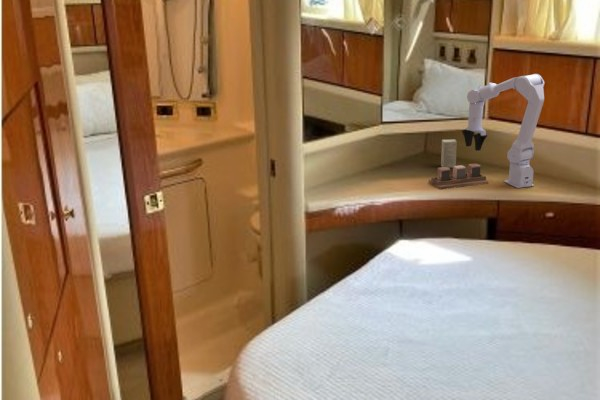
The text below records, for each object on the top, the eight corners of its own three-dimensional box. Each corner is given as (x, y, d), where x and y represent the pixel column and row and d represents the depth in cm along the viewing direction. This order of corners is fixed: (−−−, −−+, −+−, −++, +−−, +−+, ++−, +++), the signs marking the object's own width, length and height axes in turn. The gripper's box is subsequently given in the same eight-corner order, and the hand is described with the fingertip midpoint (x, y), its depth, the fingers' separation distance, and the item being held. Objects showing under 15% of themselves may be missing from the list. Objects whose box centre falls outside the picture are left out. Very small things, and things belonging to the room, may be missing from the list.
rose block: (465, 181, 242) (466, 167, 240) (456, 182, 241) (457, 168, 239) (461, 178, 245) (461, 165, 243) (452, 179, 244) (453, 166, 242)
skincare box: (454, 165, 268) (455, 139, 264) (455, 167, 264) (457, 141, 260) (440, 165, 269) (441, 139, 265) (441, 167, 265) (443, 141, 260)
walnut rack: (488, 183, 242) (489, 167, 239) (440, 189, 236) (441, 172, 234) (475, 176, 251) (476, 161, 248) (428, 182, 245) (429, 166, 243)
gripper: (458, 115, 256) (456, 145, 261) (476, 121, 243) (474, 153, 248) (472, 113, 258) (470, 143, 263) (491, 120, 245) (488, 151, 249)
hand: (473, 148), depth 255 cm, fingers open, 7 cm apart
